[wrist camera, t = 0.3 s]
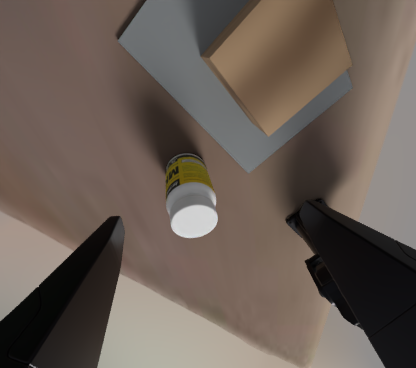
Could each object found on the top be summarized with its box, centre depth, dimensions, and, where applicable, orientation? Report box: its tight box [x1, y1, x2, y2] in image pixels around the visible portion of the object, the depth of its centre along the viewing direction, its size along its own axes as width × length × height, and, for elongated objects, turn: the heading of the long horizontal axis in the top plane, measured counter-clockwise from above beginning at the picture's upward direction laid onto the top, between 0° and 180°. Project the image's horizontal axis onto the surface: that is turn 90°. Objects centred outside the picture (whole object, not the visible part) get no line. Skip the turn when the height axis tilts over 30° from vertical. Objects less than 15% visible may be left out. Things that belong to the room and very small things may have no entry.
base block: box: [200, 0, 352, 137], centre depth 15 cm, size 8×8×4 cm
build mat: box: [118, 0, 353, 174], centre depth 17 cm, size 18×14×1 cm
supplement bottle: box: [166, 153, 218, 238], centre depth 19 cm, size 5×5×8 cm
